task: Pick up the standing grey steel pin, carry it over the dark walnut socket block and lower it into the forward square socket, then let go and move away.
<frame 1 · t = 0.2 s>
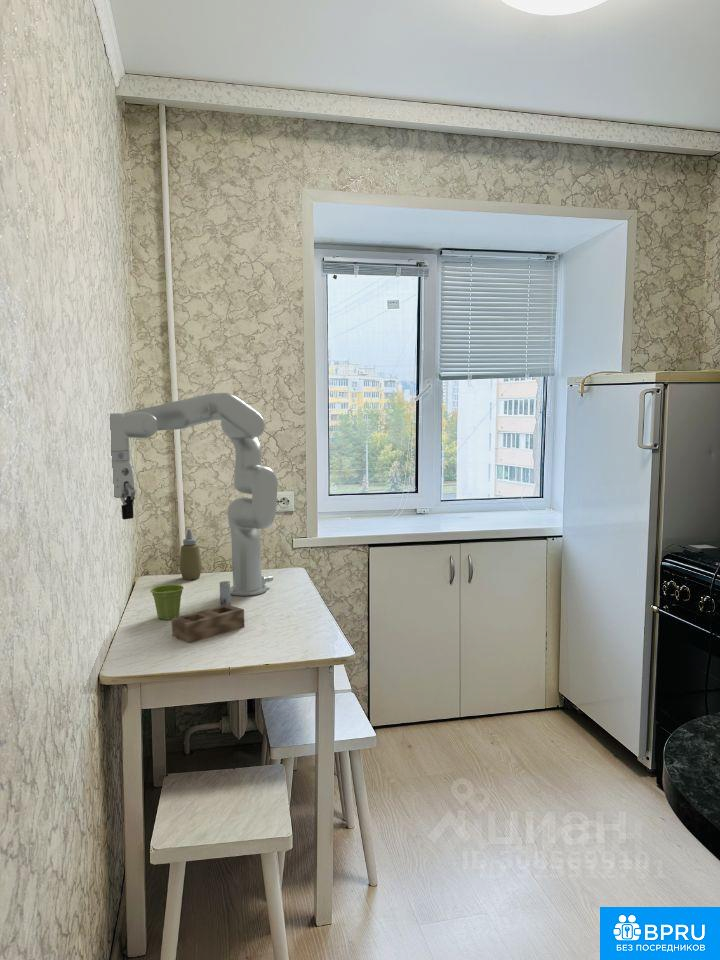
hand: (119, 517, 196), 31 cm above the table, tool pointing down, fingers open, 9 cm apart
squeeze bottle: (191, 578, 251), on the table
plant pot: (168, 617, 204), on the table
socket block: (209, 631, 189), on the table
pin: (226, 615, 204), on the table
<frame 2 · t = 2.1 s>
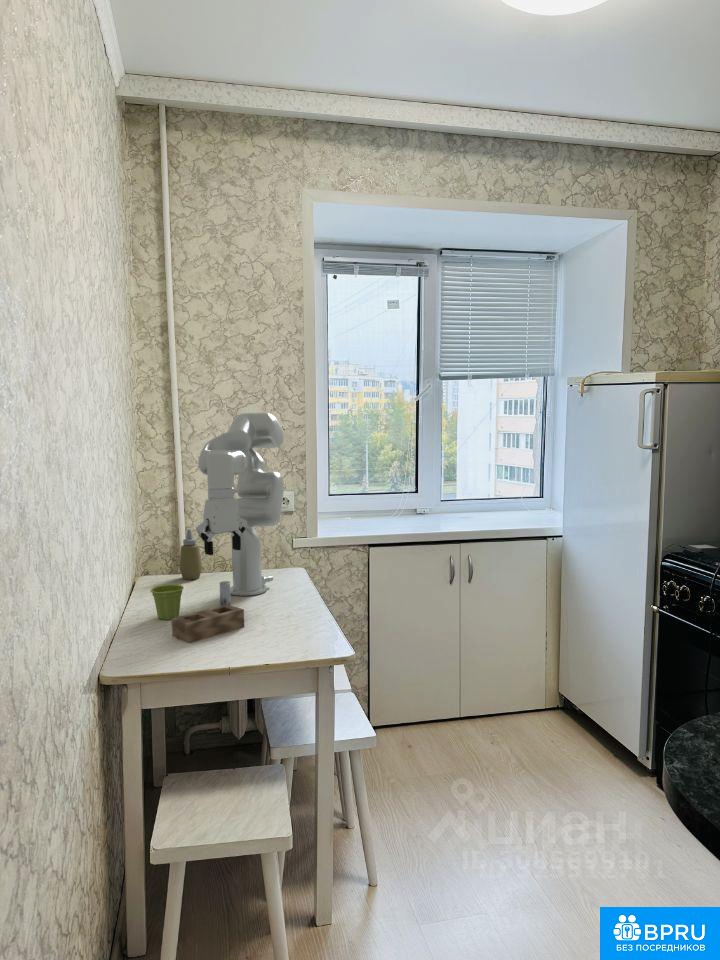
hand: (223, 552, 202), 19 cm above the table, tool pointing down, fingers open, 9 cm apart
nothing on the table moved.
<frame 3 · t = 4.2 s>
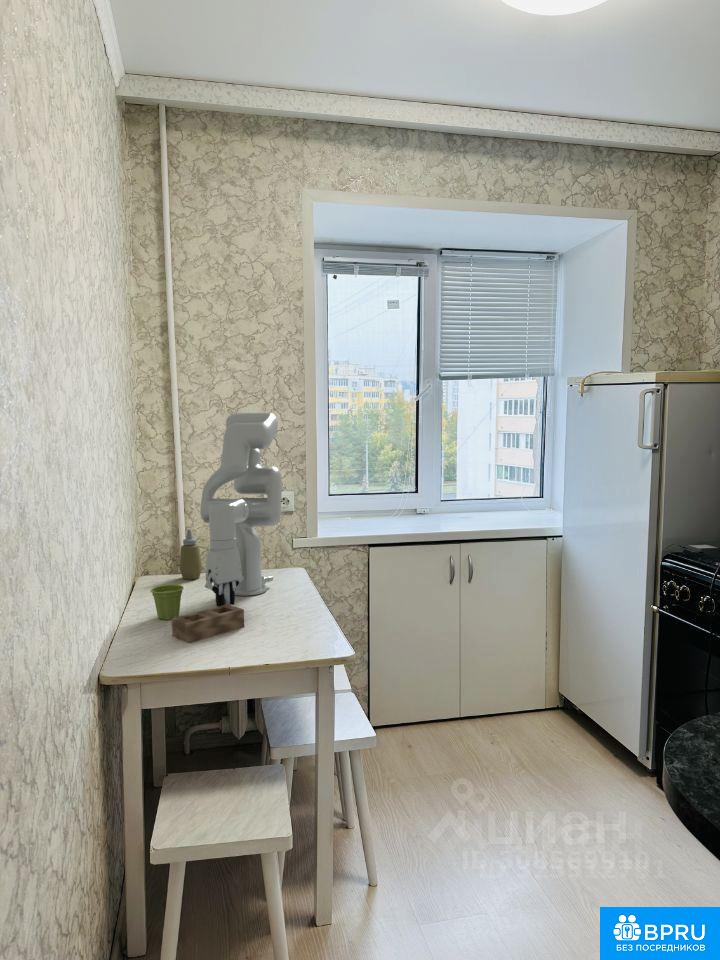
hand: (225, 604, 204), 3 cm above the table, tool pointing down, fingers closed on pin, 3 cm apart
pin: (226, 615, 204), on the table, touching gripper
everything else where it was.
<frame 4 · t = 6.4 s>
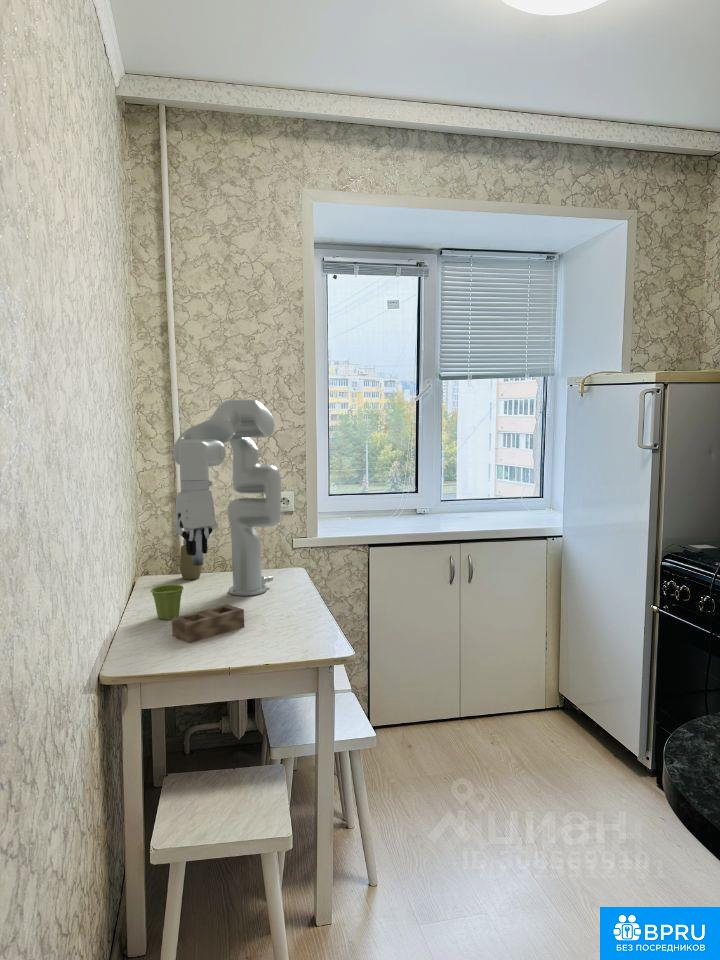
hand: (197, 553, 187), 22 cm above the table, tool pointing down, fingers closed on pin, 3 cm apart
pin: (197, 564, 187), point 19 cm above the table, touching gripper
everything else where it was.
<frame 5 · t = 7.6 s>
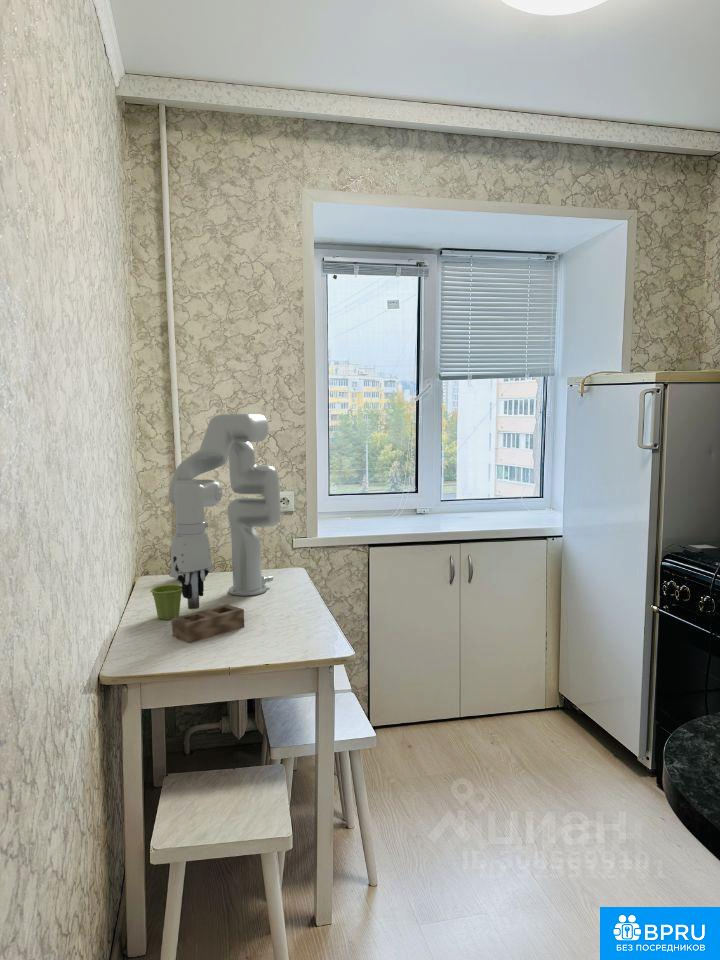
hand: (193, 596, 185), 11 cm above the table, tool pointing down, fingers closed on pin, 3 cm apart
pin: (193, 607, 185), point 8 cm above the table, touching gripper
everything else where it was.
when the fingers open (7 cm above the table, at t = 8.7 s): pin drops 3 cm, resting in socket block.
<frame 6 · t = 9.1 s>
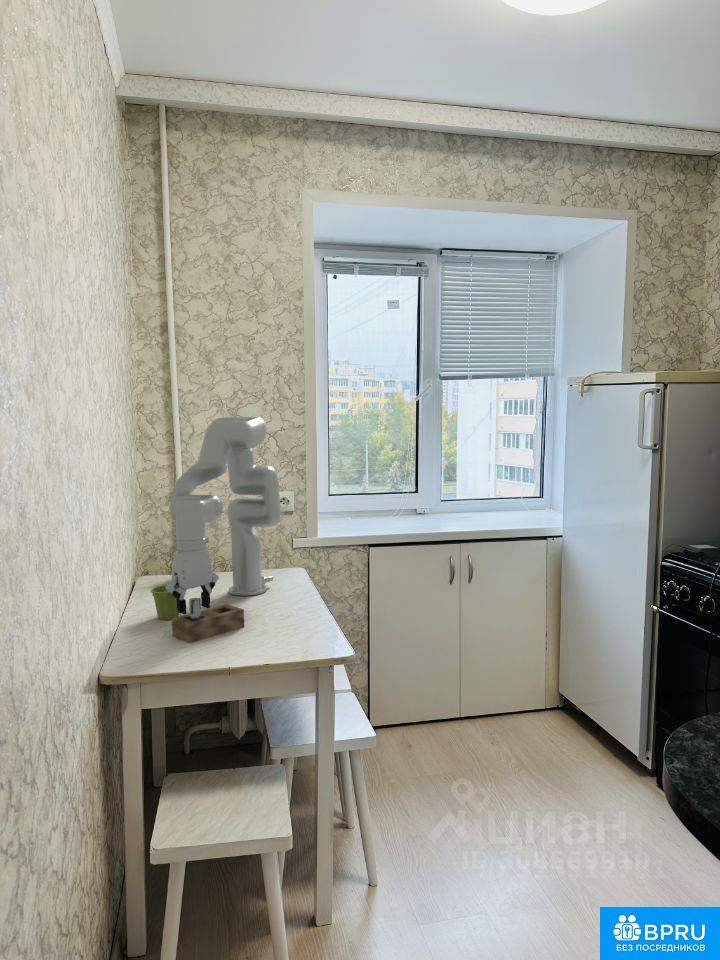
hand: (194, 609, 186), 7 cm above the table, tool pointing down, fingers open, 6 cm apart
pin: (195, 635, 186), resting in socket block
everything else where it was.
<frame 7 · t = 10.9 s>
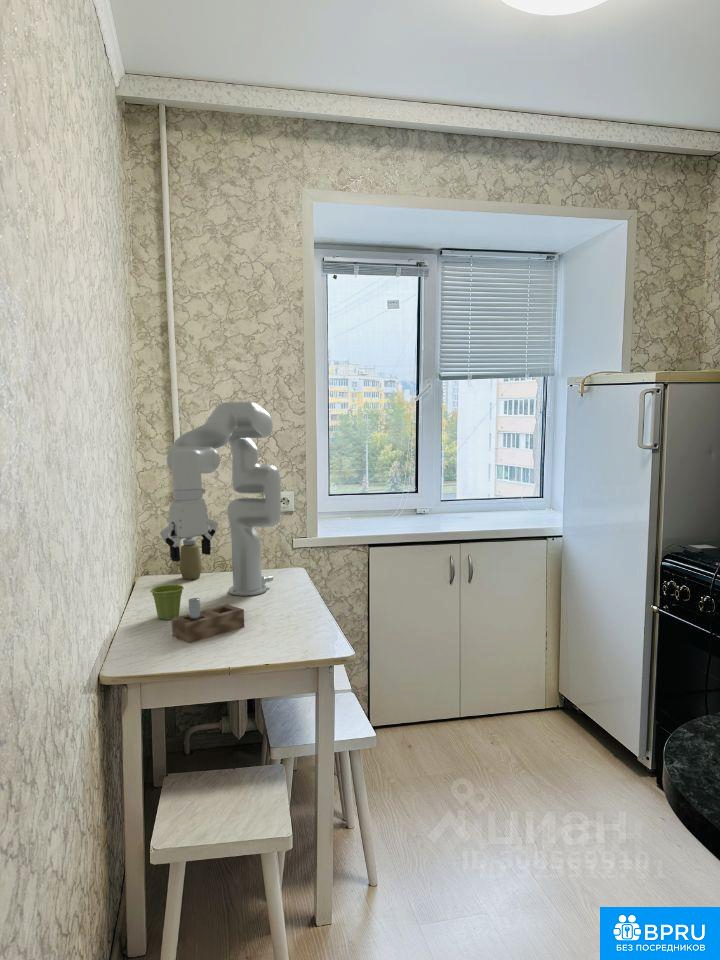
hand: (191, 557, 187), 21 cm above the table, tool pointing down, fingers open, 9 cm apart
nothing on the table moved.
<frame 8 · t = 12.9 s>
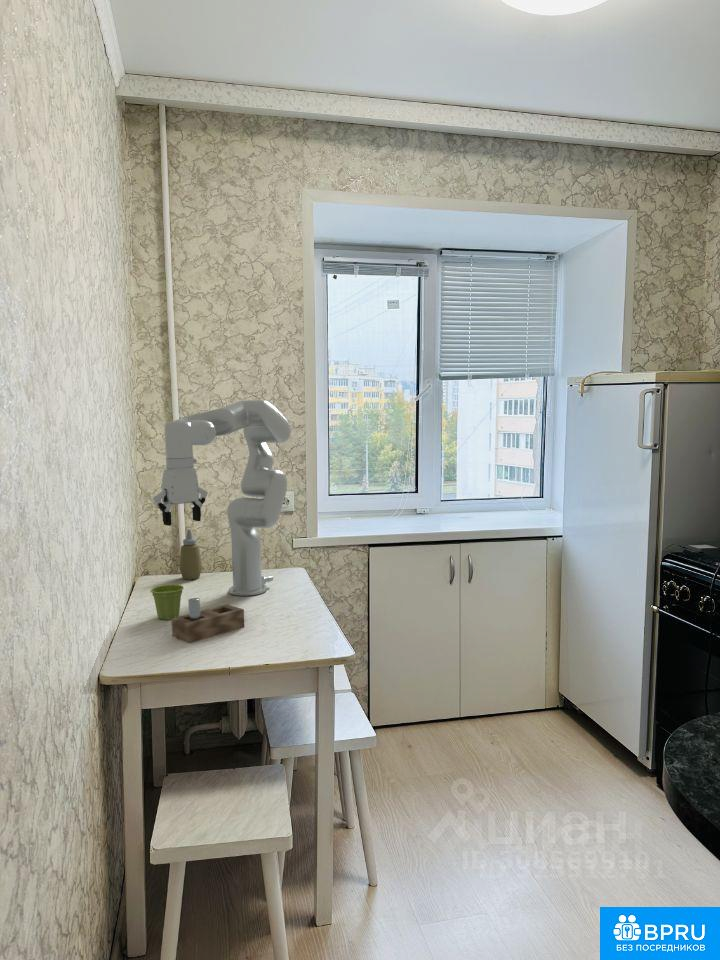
hand: (182, 522, 200), 28 cm above the table, tool pointing down, fingers open, 9 cm apart
nothing on the table moved.
at the end: pin 0.2 cm from the target spot on the socket block, point 0.0 cm above the socket block's base; pin tilted 0°; the gripper is holding nothing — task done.
